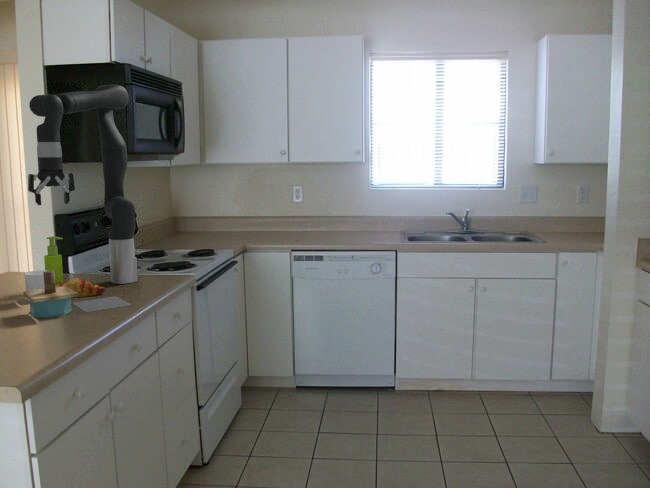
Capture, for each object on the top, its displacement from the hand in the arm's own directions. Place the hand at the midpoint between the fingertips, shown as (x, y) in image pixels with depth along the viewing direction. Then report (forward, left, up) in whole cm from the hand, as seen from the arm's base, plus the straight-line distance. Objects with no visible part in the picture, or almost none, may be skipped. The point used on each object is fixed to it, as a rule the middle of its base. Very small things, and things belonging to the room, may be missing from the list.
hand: (52, 204), depth 207 cm
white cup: (+6, -2, -33) cm, 34 cm away
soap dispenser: (-3, -15, -33) cm, 37 cm away
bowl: (+7, +18, -33) cm, 38 cm away
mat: (-9, +17, -33) cm, 38 cm away
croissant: (-6, -3, -34) cm, 34 cm away
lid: (+7, +18, -27) cm, 33 cm away
